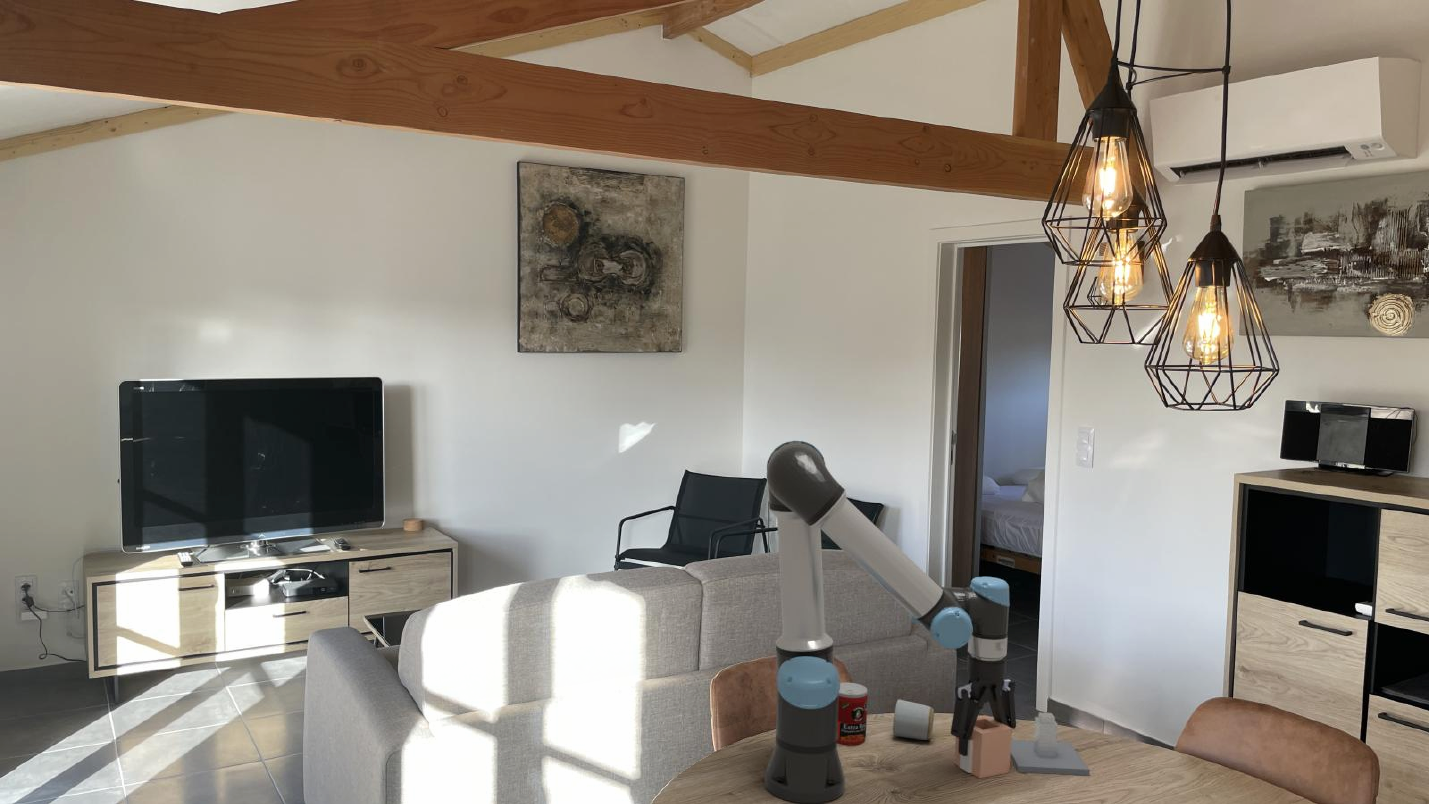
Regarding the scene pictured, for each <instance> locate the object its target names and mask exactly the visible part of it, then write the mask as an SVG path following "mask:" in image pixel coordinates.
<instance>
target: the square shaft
mask: <svg viewBox="0 0 1429 804" xmlns="http://www.w3.org/2000/svg"><path fill="white" fill-rule="evenodd" d="M1058 728H1059V726H1058V722H1057V721H1056V717H1055V716H1054V714H1053V713H1052V712H1039V711H1038V716H1035V717H1034V735H1033V736H1034V738H1033V741H1034V751H1035V753H1036V754H1037V756H1038V757H1050V758H1056V749H1057V742H1058V730H1059V729H1058Z"/></svg>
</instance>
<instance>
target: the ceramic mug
mask: <svg viewBox="0 0 1429 804" xmlns="http://www.w3.org/2000/svg"><path fill="white" fill-rule="evenodd" d="M934 721H935V710H934V708H933V707H931V706H929V705H926V704H921V703H918V702H917V703H916V702H912V701H909V700H908V701H907V700H903V699H897V701H896V704H895V708H894V716H893V723H892V724H893V725H892V726H893V727H892V735H893V737H900V738H904V739H912V740H913V739H914V740H919V741H928V740H930V739H932V734H933V729H934Z"/></svg>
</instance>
